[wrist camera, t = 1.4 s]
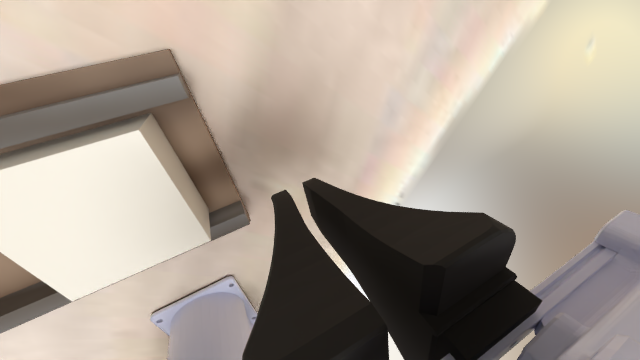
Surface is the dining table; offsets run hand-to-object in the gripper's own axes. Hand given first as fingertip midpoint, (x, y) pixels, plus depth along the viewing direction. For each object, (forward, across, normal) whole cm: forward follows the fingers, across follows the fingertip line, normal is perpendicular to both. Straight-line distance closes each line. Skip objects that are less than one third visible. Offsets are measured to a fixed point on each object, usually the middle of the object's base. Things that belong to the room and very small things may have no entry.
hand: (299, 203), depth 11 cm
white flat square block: (+9, +10, 0) cm, 13 cm away
